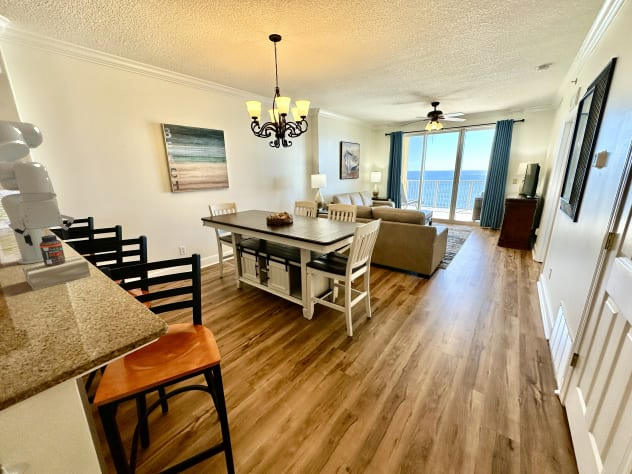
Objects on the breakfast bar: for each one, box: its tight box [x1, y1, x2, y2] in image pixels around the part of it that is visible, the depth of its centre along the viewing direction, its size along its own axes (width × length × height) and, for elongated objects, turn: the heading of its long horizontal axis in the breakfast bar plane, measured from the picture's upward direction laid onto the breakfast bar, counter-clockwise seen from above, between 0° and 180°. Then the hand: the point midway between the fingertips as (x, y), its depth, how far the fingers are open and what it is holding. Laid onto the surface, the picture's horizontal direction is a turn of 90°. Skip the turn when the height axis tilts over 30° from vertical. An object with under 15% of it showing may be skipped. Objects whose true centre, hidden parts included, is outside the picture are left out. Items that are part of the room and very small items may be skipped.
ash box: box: [21, 255, 92, 291], centre depth 101 cm, size 14×16×6 cm
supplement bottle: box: [40, 234, 66, 266], centre depth 99 cm, size 6×6×11 cm
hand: (49, 242), depth 99 cm, fingers open, 9 cm apart
